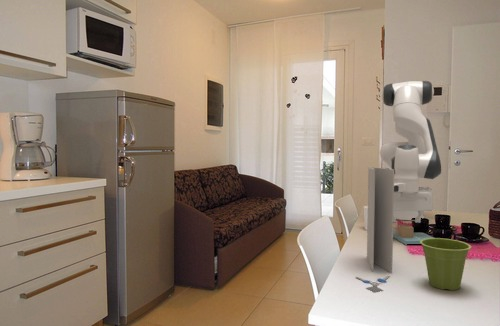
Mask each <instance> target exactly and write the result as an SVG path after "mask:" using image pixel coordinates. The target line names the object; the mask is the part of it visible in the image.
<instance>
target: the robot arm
mask: <svg viewBox="0 0 500 326" xmlns="http://www.w3.org/2000/svg"><path fill="white" fill-rule="evenodd" d="M434 94H435V89H434V86H433V84H432V82H431V81H429V80H422V81H421V80H419V81H418V80H414V81H413V80H410V81H403V82H395V83H389V84H386V85H384V87H383V89H382V91H381V100H382V102H383V104H384V105H385V106H387V107H393V108H392V114H393V115H392V116H393V121H394V127H395V128H394V129H395V132H396V133H397V134H398V135H399V136H401V137H403V138H405V139H407V141H393V142H387V143H384V144H383V145H382V146H381V147H380V149H379V150H380V151H379V154H380V158H381V160H382V161H383V162H384V163H386V164H387V165H388V167H389V168H390V169H393V170H394V210H393V224H394V223H397V220H401V221H412V220H411V219H412V218H415V220H414V222H415V223H416V224H421V220H422V219H425V215H424V213H425V212H432V211H433V210H434V199H433V196H434V191H433V189H432V188H430V187H428V186H420V182H419V181H420V178H421V179H427V180H434V179H436V178H437V177H439V176H440V175H441V174H442V170H443V164H442V160H441V158H440V155H439V151H438V147H437V142H436V138H435V134H434V131H433V126H432V123H431V121H430V119H429V118H428V117H425V116H424V114H423V113H422V106H424V105H427V104H429V103H430V102H432V99H433V97H434ZM421 218H422V219H421Z"/></svg>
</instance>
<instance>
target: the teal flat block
mask: <svg viewBox="0 0 500 326" xmlns="http://www.w3.org/2000/svg"><path fill="white" fill-rule="evenodd" d="M413 236H414V237H416V238H417V239H419V240H423V239H428V238H434V237H433V236H431V235H429V234H427V233H425V232H413Z"/></svg>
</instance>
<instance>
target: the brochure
mask: <svg viewBox="0 0 500 326" xmlns="http://www.w3.org/2000/svg"><path fill="white" fill-rule="evenodd" d="M367 167H368V168H367V169H368V171H367V173H368V174H367V175H368V176H367V206H368V223H367V230H366V233H367V234H366V237H367V238H366V239H367V241H366V242H367V243H366V244H367V245H366V259H367V261H368V264H369V266H370V270H371V273H374V264H376V265H377V266H379V267H381V268H382V269H384V270H385V271H387V272H389V273H390V274H393V255H394V254H393V253H394V251H393V250H394V247H393V246H394V237H393V232H394V223H393V210H394V170H393V169H391V167H387V166H385V168H383V167H382V168H381V167H372V166H367Z"/></svg>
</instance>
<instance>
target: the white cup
mask: <svg viewBox="0 0 500 326" xmlns="http://www.w3.org/2000/svg"><path fill="white" fill-rule="evenodd" d="M363 219H364V220H363V222H364V230H366V231H367V223H368V205H364V206H363Z"/></svg>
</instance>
